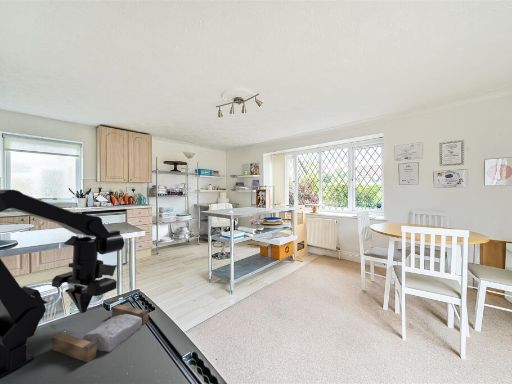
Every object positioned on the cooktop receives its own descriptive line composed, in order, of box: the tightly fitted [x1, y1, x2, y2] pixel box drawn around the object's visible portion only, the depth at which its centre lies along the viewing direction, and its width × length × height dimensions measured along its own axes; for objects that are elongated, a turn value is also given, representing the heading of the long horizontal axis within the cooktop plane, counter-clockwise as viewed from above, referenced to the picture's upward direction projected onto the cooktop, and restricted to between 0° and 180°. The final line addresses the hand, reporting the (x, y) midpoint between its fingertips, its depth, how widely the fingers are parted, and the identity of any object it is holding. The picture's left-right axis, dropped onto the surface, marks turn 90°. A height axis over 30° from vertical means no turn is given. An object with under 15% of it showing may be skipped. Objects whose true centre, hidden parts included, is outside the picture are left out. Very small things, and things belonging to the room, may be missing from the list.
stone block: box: [83, 314, 143, 353], centre depth 61 cm, size 12×5×10 cm
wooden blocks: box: [51, 303, 150, 364], centre depth 62 cm, size 12×18×3 cm
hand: (83, 312), depth 64 cm, fingers closed
